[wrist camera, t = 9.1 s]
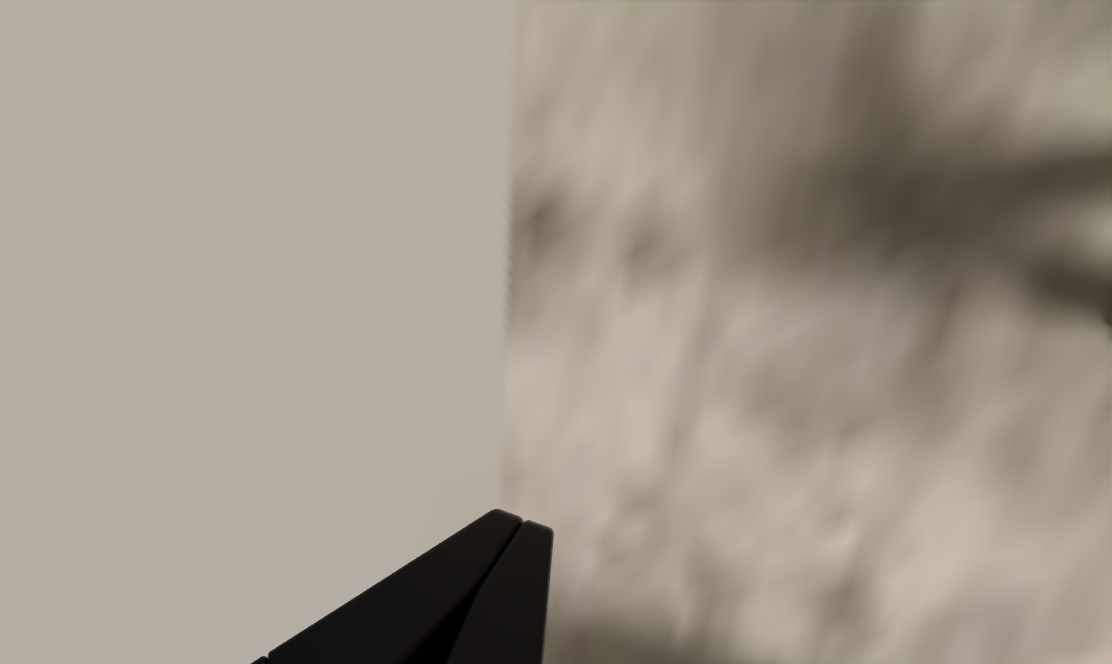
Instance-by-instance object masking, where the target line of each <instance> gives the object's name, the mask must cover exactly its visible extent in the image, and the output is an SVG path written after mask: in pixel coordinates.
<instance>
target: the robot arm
mask: <svg viewBox="0 0 1112 664" xmlns="http://www.w3.org/2000/svg"><path fill="white" fill-rule="evenodd" d="M553 537H554V532H553V530H552V529H551V528H549V527H547V526H544V525H541V524H539V523H536V522H533V521H530V520H527V521H525V522H523V519H522V518H521V517H519V516H517V515H514V514H511V513H509V512H506V511H503V510H500V509H494V510H491V511H490V512H488V513H486V514H485V515H483V516H482V517H481V518H479V519H477V520H475V521H474V522H472V523H471V524H469V525H468V526H466V527H465V528H463V529H462V530H460V531H458V532H457V533H455V534H454V535H452V536H450V537H449V538H447V539H446V540H444V541H443V542H441V543H439V544H438V545H436V546H435V547H433V548H432V549H430V550H429V551H427V552H426V553H424V554H422V555H421V556H419V557H418V558H416V559H414V560H413V561H411V562H410V563H408V564H407V565H405V566H403V567H402V568H400V569H399V570H397V571H396V572H394V573H392V574H391V575H389V576H388V577H386V578H385V579H383V580H381V581H380V582H378V583H377V584H375V585H374V586H372V587H371V588H369V589H367V590H366V591H364V592H363V593H361V594H360V595H358V596H356V597H355V598H353V599H352V600H350V601H349V602H347V603H345V604H344V605H342V606H341V607H339V608H338V609H336V610H335V611H333V612H331V613H330V614H328V615H327V616H325V617H324V618H322V619H321V620H319V621H317V622H316V623H314V624H313V625H311V626H309V627H308V628H306V629H305V630H303V631H302V632H300V633H299V634H297V635H295V636H294V637H292V638H291V639H289V640H287V641H286V642H284V643H283V644H281V645H280V646H278V647H277V648H275V649H273V650H272V651H270V652H269V654H268V658H267V657H265V656H262V657H260V658H259V659H257V660H256V661H254V662H253V663H251V664H543V657H544V645H545V633H546V621H547V609H548V597H549V585H550V573H551V561H552V549H553Z"/></svg>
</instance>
